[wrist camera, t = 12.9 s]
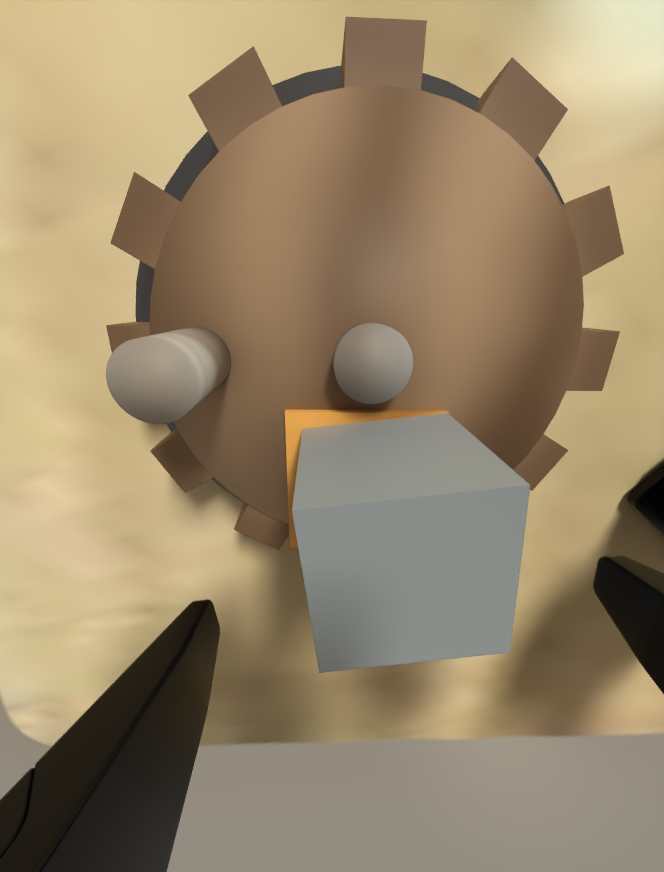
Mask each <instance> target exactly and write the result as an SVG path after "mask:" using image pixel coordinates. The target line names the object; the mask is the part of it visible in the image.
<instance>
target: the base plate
mask: <svg viewBox="0 0 664 872" xmlns="http://www.w3.org/2000/svg"><path fill="white" fill-rule="evenodd" d="M272 86H273V88H274V90H275V92H276V94H277V97H278V99H279V101H280V103H281V105H282V106H285V105H287V104H290V103H292V102H295V101H297V100H300V99H302V98H305V97H307V96H310V95H312V94H316V93H321V92H326V91H330V90H335V89H339V88H341V66H337V67H332V68H327V69H322V70H317V71H312V72H307V73H303V74H301V75H298V76H296V77H293V78H290V79H288V80H285V81H282V82H280V83H277V84H275V85H272ZM421 90H422V91H426V92H429V93H432V94H435V95H439V96H442V97H445V98H448V99H452V100H454V101H456V102H458V103H460V104H462V105H464V106H466V107H468V108H470V109H472V110H474V108H475V106H476V105H477V103H478V101H479V99H480V98H478V97H476V96H474V95H472V94H471V93H469V92H467V91H465V90H463V89H461V88H459V87H458V86H456V85H454V84H452V83H450V82H448V81H445V80H442V79H439V78H436V77H433V76H430V75H427V74H424V73H422V83H421ZM218 152H219V150H218V148H217V147H216V145H215V143H214V141H213V139H212V137H211V136H210V134H209V132H208V131H207V132H206V134H205V135H204V136H203V137H202V138H201V139H200V140H199V141H198V143H197V144H196V145H195V146H194V147H193V148H192V149H191V150H190V151H189V153H188V154H187V155H186V156H185V158H184V159H183V161H182V162H181V164H180V165H179V167H178V168H177V170H176V172H175V173H174V175H173V176H172V178H171V179H170V181H169V182H168V184H167V185H166V188H165V190H164V191H165V192H166V193H168V194H170V195H171V196H173V197H174V198H176V199H177V200H179V201H180V202H181V201H182V199H183V198H184V196H185V195H186V193H187V192H188V190H189V189H190V187H191V186H192V184H193V182H194V181H195V179H196V178H197V176H198V175H199V174H200V173H201V172H202V170H203V169H204V168H205V167H206V166H207V165H208V164H209V162H210V161H211V160H212V159H213V158H214V157H215V156H216V155H217V153H218ZM534 161H535V162H536V164H537V165H538V166H539V168H540V169H541V171H542V172H543V173H544V175H545V176H546V178H547V179H548V181H549V182H550V183H551V185H552V186H553V188H554V190H555V192H556V194H557V196H558V198H559V200H560V202H561V204H562V205H564V202H563V200H562V198H561V196H560V194H559V191H558V189H557V187H556V185H555V183H554V181H553V179H552V177H551V175H550V173H549V171H548V170H547V168H546V167H545V165H544V164H543V162H542V161H541V159H540V158H539V157H538V156H537V157H536V159H535V160H534ZM154 273H155V269H154V268H152V267H150V266H149V265H147V264H145V263H144V262H142V261H140V264H139V270H138V276H137V284H136V322H150V298H151V292H152V285H153V279H154ZM167 425H168V427H169V428H170V430H171V431H172V432H173V431H175V430H176V429H177V427H176V425H175V423H174V421H173V422H170V423H167ZM212 479H213V480H214V481H215V482H216V483H217V484H218V485H219V486H221V487H222V488H224V489H225V490H226V491H228V492H229V493H231V492H230V491H229V490H228V489H227V488H225V487H224V486H223V485H222V484H221V483H220V482H219V481H218V480H216V479H215V478H212ZM231 494H232V493H231ZM232 495H233V496H235V495H234V494H232ZM235 497H236V498H238V497H237V496H235ZM238 499H239V500H241V499H240V498H238ZM241 501H242V500H241ZM243 502H244V501H243Z"/></svg>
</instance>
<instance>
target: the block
mask: <svg viewBox="0 0 664 872" xmlns="http://www.w3.org/2000/svg"><path fill="white" fill-rule="evenodd" d="M529 490H530V484H529V483H527V482H526V481H525V480H524V479H523V478H522V477H521V476H519V475H518V474H517V473H516V472H515V471H514V470H512V469H511V468H510V467H509V466H508V465H507V464H506V463H504V462H503V461H502V460H501V459H500V458H499V457H498V456H496V455H495V454H494V453H493V452H492V451H491V450H490V449H488V448H487V447H486V446H485V445H484V444H483V443H482V442H480V441H479V440H478V439H477V438H476V437H475V436H473V435H472V434H471V433H470V432H469V431H468V430H467V429H465V428H464V427H463V426H462V425H461V424H460V423H459V422H457V421H456V420H455V419H454V418H453V417H452V416H451V415H449V414H448V413H442V414H432V415H423V416H414V417H405V418H396V419H386V420H377V421H368V422H359V423H350V424H340V425H331V426H322V427H313V428H304V429H302V435H301V443H300V451H299V459H298V467H297V475H296V483H295V491H294V499H293V507H292V514H293V520H294V525H295V531H296V537H297V543H298V549H299V555H300V561H301V567H302V573H303V578H304V584H305V590H306V596H307V602H308V608H309V614H310V620H311V626H312V632H313V637H314V643H315V649H316V655H317V661H318V667H319V673H322V672H331V671H340V670H350V669H359V668H369V667H378V666H388V665H397V664H406V663H416V662H425V661H435V660H444V659H454V658H463V657H472V656H482V655H491V654H501V653H510V648H511V640H512V632H513V623H514V615H515V607H516V598H517V590H518V582H519V573H520V565H521V557H522V548H523V540H524V532H525V524H526V515H527V507H528V499H529Z"/></svg>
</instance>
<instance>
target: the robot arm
mask: <svg viewBox="0 0 664 872" xmlns="http://www.w3.org/2000/svg"><path fill="white" fill-rule="evenodd" d="M628 502H629V504H630V505H631V506H632V507H633V508H634V509H635V510H636V511H637V512H638V513H640V514H641V515H642V516H643V517H644V518H645V519H646V520H647V521H648V522H649V523H650V524H651V525H652V526H653V527H654V528H655V529H656V530H657V531H658V532H660V533H661V534H662V535H663V536H664V467H663V468H661V469H660V470H659V471H658V472H656V473H655V474H654V475H653V476H651V477H650V478H649V479H648V480H647V481H645V482H644V483H643V484H642V485H640V486H639V487H638V488H637V489H635V490H634V491H633V492H632V493H631V494H630V495H629V497H628ZM593 587H594V591H595V593H596V595H597V597H598V598H599V600H600V602H601V603H602V605H603V606H604V608H605V609H606V611H607V612H608V614H609V616H610V617H611V619H612V620H613V622H614V623H615V625H616V626H617V628H618V630H619V631H620V633H621V634H622V636H623V637H624V639H625V640H626V642H627V644H628V645H629V647H630V648H631V650H632V651H633V653H634V654H635V656H636V657H637V659H638V660H639V662H640V663H641V665H642V666H643V667H644V669H645V670H646V671H647V673H648V674H649V675H650V677H651V678H652V679H653V681H654V682H655V683H656V685H657V686H658V687H659V689H660V690H661V691H662V693H663V694H664V573H661V572H659V571H657V570H655V569H652V568H650V567H648V566H645V565H643V564H641V563H639V562H636V561H634V560H632V559H629V558H627V557H625V556H622V555H610V556H603V557H601V558H600V559H599V560H598V563H597V568H596V572H595V577H594V581H593ZM219 636H220V627H219V622H218V619H217V616H216V612H215V609H214V606H213V603H212V601H211V600H199V601H193V602H192V603H190V604H189V605H188V606H187V607H186V608H185V609H184V610H183V611H182V612H181V614H180V615H179V616H178V617H177V618H176V619H175V620H174V621H173V622H172V623H171V624H170V625H169V626H168V627H167V628H166V629H165V630H164V631H163V632H162V633H161V634H160V635H159V636H158V637H157V638H156V639H155V640H154V641H153V643H152V644H151V645H150V646H149V647H148V648H147V649H146V650H145V651H144V652H143V653H142V654H141V655H140V656H139V657H138V658H137V659H136V660H135V661H134V662H133V663H132V664H131V665H130V666H129V667H128V668H127V669H126V670H125V671H124V673H123V674H122V675H121V676H120V677H119V678H118V679H117V680H116V681H115V682H114V683H113V684H112V685H111V686H110V687H109V688H108V689H107V690H106V691H105V692H104V693H103V694H102V695H101V696H100V697H99V698H98V699H97V700H96V702H95V703H94V704H93V705H92V706H91V707H90V708H89V709H88V710H87V711H86V712H85V713H84V714H83V715H82V716H81V717H80V718H79V719H78V720H77V721H76V722H75V723H74V724H73V725H72V726H71V727H70V728H69V729H68V730H67V732H66V733H65V734H64V735H63V736H62V737H61V738H60V739H59V740H58V741H57V742H56V743H55V744H54V745H53V746H52V747H51V748H50V749H49V750H48V751H47V752H46V753H45V754H44V755H43V756H42V757H41V758H40V759H39V761H38V762H37V763H36V765H35V768H31V769H30V770H29V771H28V772H27V773H26V774H25V775H24V776H23V777H22V778H21V779H20V780H19V781H18V782H17V783H16V784H15V785H14V786H13V787H12V788H11V789H10V790H9V791H8V792H7V793H6V794H5V795H4V796H3V798H2V799H0V872H167V868H168V864H169V860H170V856H171V852H172V848H173V844H174V840H175V836H176V832H177V828H178V825H179V821H180V817H181V813H182V809H183V805H184V801H185V797H186V793H187V790H188V786H189V782H190V778H191V774H192V770H193V766H194V762H195V758H196V754H197V751H198V747H199V743H200V739H201V735H202V731H203V727H204V723H205V719H206V715H207V710H208V705H209V699H210V693H211V687H212V680H213V674H214V668H215V661H216V655H217V649H218V642H219Z"/></svg>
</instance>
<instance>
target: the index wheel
mask: <svg viewBox="0 0 664 872" xmlns="http://www.w3.org/2000/svg"><path fill="white" fill-rule="evenodd" d="M426 23H427V21H424V20H402V19H381V18H359V17H346V21H345V31H344V42H343V52H342V62H341V88H339V89H335V90H330V91H326V92H321V93H316V94H312V95H310V96H307V97H305V98H302V99H300V100H297V101H295V102H292V103H290V104H287V105H285V106H282V105H281V103H280V101H279V99H278V97H277V94H276V92H275V90H274V88H273V86H272V84H271V82H270V80H269V78H268V76H267V73H266V71H265V69H264V67H263V65H262V63H261V61H260V59H259V57H258V55H257V52H256V50H255V48H254V46H253V47H252V48H251V49H249V50H248V51H247V52H245V53H244V54H243V55H241V56H240V57H239V58H237V59H236V60H235V61H233V62H232V63H231V64H229V65H228V66H227V67H225V68H224V69H223V70H221V71H220V72H219V73H217V74H216V75H215V76H213V77H212V78H211V79H209V80H208V81H207V82H205V83H204V84H203V85H201V86H200V87H199V88H197V89H196V90H195V91H193V92H192V93H191V94H189V95H188V96H189V98H190V99H191V101H192V103H193V105H194V107H195V108H196V110H197V112H198V114H199V116H200V118H201V119H202V121H203V123H204V125H205V127H206V128H207V130H208V132H209V134H210V136H211V137H212V139H213V141H214V143H215V145H216V147H217V148H218V150H219V152H218V153H217V155H216V156H215V157H214V158H213V159H212V160H211V161H210V162H209V164H208V165H207V166H206V167H205V168H204V169H203V170H202V172H201V173H200V174H199V175H198V176H197V178H196V179H195V181H194V182H193V184H192V186H191V187H190V189H189V190H188V192H187V193H186V195H185V196H184V198H183V199H182V201H181V202H180V201H179V200H177V199H176V198H174V197H173V196H171V195H170V194H168V193H166V192H165V191H163V190H162V189H160V188H159V187H157V186H156V185H154V184H152V183H151V182H149V181H148V180H146V179H145V178H143V177H141V176H140V175H138V174H137V173H135V172H134V174H133V177H132V180H131V183H130V186H129V189H128V192H127V195H126V198H125V201H124V204H123V207H122V210H121V213H120V216H119V219H118V222H117V225H116V228H115V231H114V234H113V237H112V240H111V244H113V245H115V246H116V247H118V248H120V249H121V250H123V251H125V252H127V253H128V254H130V255H132V256H133V257H135V258H137V259H138V260H140V261H142V262H144V263H145V264H147V265H149V266H150V267H152V268H154V269H155V273H154V279H153V285H152V292H151V298H150V322H131V323H122V324H114V325H106V327H107V331H108V336H109V341H110V346H111V350H112V354H111V356H110V358H109V360H108V364H107V369H106V378H107V384H108V387H109V390H110V392H111V394H112V396H113V398H114V399H115V401H116V402H117V403H118V405H119V406H120V407H121V408H122V409H123V410H124V411H126V412H127V413H128V414H130V415H131V416H133V417H135V418H136V419H139V420H141V421H144V422H147V423H153V424H165V423H170V422H173V421H174V423H175V425H176V427H177V429H176V430H175V431H173V432H171V433H170V434H169V435H167V436H166V437H165V438H164V439H163V440H162V441H161V442H160V443H158V444H157V445H156V446H155V447H154V448H153V449H152V450H151V453H152V454H153V455H154V456H155V457H156V459H157V460H158V461H159V462H160V463H161V465H162V466H163V467H164V468H165V469H166V471H167V472H168V473H169V474H170V475H171V477H172V478H173V479H174V480H175V481H176V483H177V484H178V485H179V486H180V487H181V489H182V490H183V491H184V492H185V493H186V492H188V491H190V490H192V489H193V488H195V487H197V486H199V485H201V484H203V483H205V482H206V481H208V480H210V479H212V478H215V479H216V480H218V481H219V482H220V483H221V484H222V485H223V486H224V487H225V488H227V489H228V490H229V491H230V492H231V493H232V494H234V495H235V496H237V497H238V498H240V499H241V500H242V501H244V504H243V506H242V509H241V512H240V515H239V517H238V520H237V523H236V525H235V528H234V530H236V531H238V532H241V533H243V534H245V535H247V536H250V537H252V538H254V539H256V540H259V541H261V542H263V543H265V544H268V545H270V546H272V547H274V548H277V549H280V547H281V546H282V544H283V543H284V541H285V540H286V538H287V537H288V535H289V541H290V548H298V543H297V537H296V531H295V525H294V520H293V514H292V507H293V499H294V491H295V483H296V475H297V467H298V459H299V451H300V443H301V435H302V429H304V428H313V427H322V426H331V425H340V424H350V423H359V422H368V421H377V420H386V419H396V418H405V417H414V416H423V415H432V414H442V413H448V414H449V415H451V416H452V417H453V418H454V419H455V420H456V421H457V422H459V423H460V424H461V425H462V426H463V427H464V428H465V429H467V430H468V431H469V432H470V433H471V434H472V435H473V436H475V437H476V438H477V439H478V440H479V441H480V442H482V443H483V444H484V445H485V446H486V447H487V448H488V449H490V450H491V451H492V452H493V453H494V454H495V455H496V456H498V457H499V458H500V459H501V460H502V461H503V462H504V463H506V464H507V465H508V466H509V467H510V468H511V469H512V470H514V471H515V472H516V473H517V474H518V475H519V476H521V477H522V478H523V479H524V480H525V481H526V482H527V483H529V484H530V490H531V491H532V490H533V489H534V488H535V487H536V486H537V485H538V484H539V482H540V481H541V480H542V479H543V478H544V477H545V476H546V475H547V474H548V472H549V471H550V470H551V469H552V468H553V467H554V466H555V465H556V463H557V462H558V461H559V460H560V459H561V458H562V457H563V456H564V455H565V453H566V452H567V451H568V450H567V449H565V448H564V447H562V446H561V445H559V444H558V443H556V442H555V441H553V440H551V439H550V438H548V437H547V436H545V435H544V434H543V433H544V432H545V430H546V429H547V427H548V425H549V424H550V422H551V420H552V419H553V417H554V415H555V414H556V411H557V409H558V407H559V405H560V403H561V401H562V398H563V396H564V394H565V392H566V391H602V389H603V386H604V383H605V379H606V376H607V373H608V369H609V366H610V363H611V359H612V356H613V353H614V349H615V346H616V343H617V339H618V336H619V333H620V332H619V331H609V330H600V329H590V328H582V319H583V307H584V302H583V282H582V276H584V275H586V274H588V273H590V272H592V271H593V270H595V269H597V268H599V267H601V266H603V265H604V264H606V263H608V262H610V261H612V260H614V259H615V258H617V257H619V256H621V255H623V254H624V252H623V247H622V242H621V238H620V233H619V228H618V224H617V219H616V214H615V209H614V205H613V200H612V195H611V191H610V186H607V187H605V188H602V189H600V190H597V191H594V192H592V193H589V194H587V195H584V196H582V197H579V198H577V199H574V200H572V201H569V202H567V203H565V204H564V205H562V204H561V202H560V200H559V198H558V196H557V194H556V192H555V190H554V188H553V186H552V185H551V183H550V182H549V181H548V179H547V178H546V176H545V175H544V173H543V172H542V171H541V169H540V168H539V166H538V165H537V164H536V162H535V161H534V160H535V159H536V157H537V156H538V154H539V153H540V151H541V150H542V148H543V147H544V145H545V144H546V142H547V141H548V139H549V138H550V136H551V135H552V133H553V131H554V130H555V128H556V127H557V125H558V124H559V122H560V121H561V119H562V118H563V116H564V115H565V113H566V112H567V110H568V109H567V108H566V107H565V106H564V105H563V104H562V103H560V102H559V101H558V100H557V99H556V98H555V97H554V96H553V95H552V94H551V93H550V92H549V91H548V90H547V89H545V88H544V87H543V86H542V85H541V84H540V83H539V82H538V81H537V80H536V79H535V78H534V77H533V76H532V75H531V74H529V73H528V72H527V71H526V70H525V69H524V68H523V67H522V66H521V65H520V64H519V63H518V62H517V61H516V60H514V59H513V58H511V60H510V61H509V62H508V63H507V65H506V66H505V67H504V68H503V70H502V71H501V72H500V73H499V75H498V76H497V77H496V78H495V80H494V81H493V82H492V83H491V85H490V86H489V87H488V88H487V90H486V91H485V92H484V93H483V95H482V96H481V98H480V99H479V101H478V103H477V105H476V106H475V108H474V110H472V109H470V108H468V107H466V106H464V105H462V104H460V103H458V102H456V101H454V100H452V99H448V98H445V97H442V96H439V95H435V94H432V93H429V92H426V91H422V90H421V83H422V71H423V59H424V47H425V35H426Z"/></svg>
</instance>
